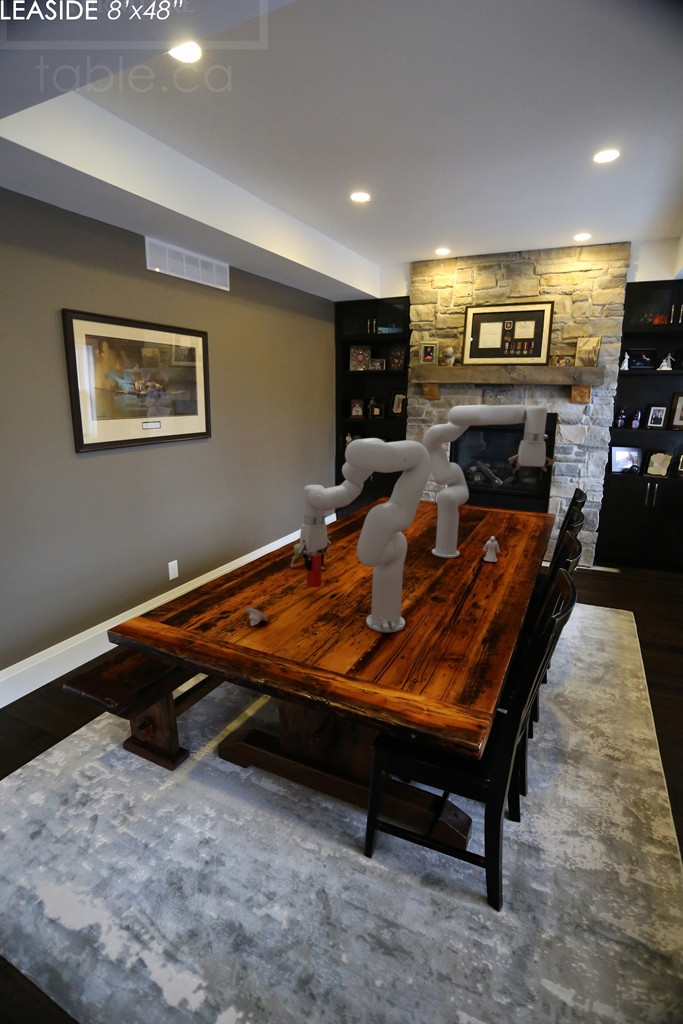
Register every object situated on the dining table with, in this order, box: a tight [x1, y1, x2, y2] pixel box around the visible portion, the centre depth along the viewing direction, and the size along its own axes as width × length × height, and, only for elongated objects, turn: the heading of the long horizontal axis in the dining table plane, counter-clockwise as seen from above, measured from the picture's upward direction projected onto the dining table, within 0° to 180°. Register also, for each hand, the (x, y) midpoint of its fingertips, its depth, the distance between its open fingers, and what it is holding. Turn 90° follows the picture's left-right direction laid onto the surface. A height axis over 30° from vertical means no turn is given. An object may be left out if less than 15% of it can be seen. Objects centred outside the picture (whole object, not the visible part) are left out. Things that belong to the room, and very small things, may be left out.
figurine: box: [482, 535, 501, 563], centre depth 223 cm, size 8×8×12 cm
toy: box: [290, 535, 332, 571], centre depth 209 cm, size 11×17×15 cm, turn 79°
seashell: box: [245, 607, 269, 627], centre depth 160 cm, size 8×5×8 cm
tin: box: [306, 552, 322, 589], centre depth 182 cm, size 5×5×12 cm
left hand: (314, 567), depth 182 cm, fingers closed on tin, 5 cm apart
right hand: (528, 480), depth 202 cm, fingers open, 9 cm apart
